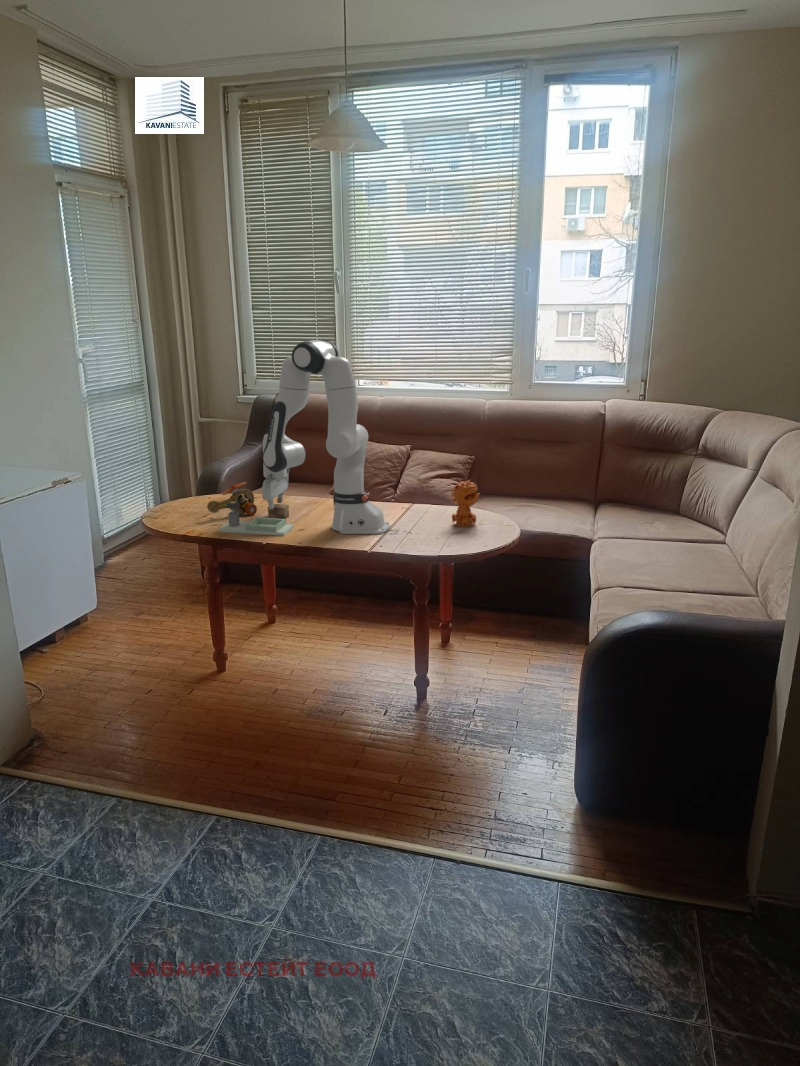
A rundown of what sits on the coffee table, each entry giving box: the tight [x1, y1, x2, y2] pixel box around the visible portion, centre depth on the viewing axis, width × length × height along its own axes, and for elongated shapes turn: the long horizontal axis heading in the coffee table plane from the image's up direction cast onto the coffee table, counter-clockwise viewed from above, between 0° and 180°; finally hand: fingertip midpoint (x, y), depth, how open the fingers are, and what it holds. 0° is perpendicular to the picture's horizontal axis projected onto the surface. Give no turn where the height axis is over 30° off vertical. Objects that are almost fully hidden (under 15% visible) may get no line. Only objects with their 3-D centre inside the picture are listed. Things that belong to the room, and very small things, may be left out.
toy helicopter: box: [206, 481, 258, 516], centre depth 288 cm, size 8×21×14 cm, turn 134°
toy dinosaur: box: [450, 479, 481, 527], centre depth 275 cm, size 11×11×18 cm
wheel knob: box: [226, 502, 239, 513], centre depth 272 cm, size 4×4×5 cm
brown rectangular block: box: [267, 503, 290, 520], centre depth 288 cm, size 7×5×5 cm
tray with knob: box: [218, 511, 295, 537], centre depth 271 cm, size 26×11×6 cm, turn 79°
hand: (275, 505), depth 287 cm, fingers open, 8 cm apart
